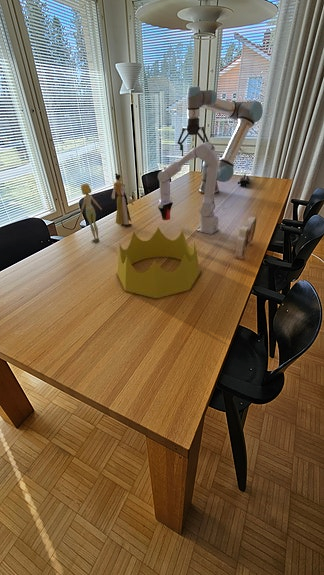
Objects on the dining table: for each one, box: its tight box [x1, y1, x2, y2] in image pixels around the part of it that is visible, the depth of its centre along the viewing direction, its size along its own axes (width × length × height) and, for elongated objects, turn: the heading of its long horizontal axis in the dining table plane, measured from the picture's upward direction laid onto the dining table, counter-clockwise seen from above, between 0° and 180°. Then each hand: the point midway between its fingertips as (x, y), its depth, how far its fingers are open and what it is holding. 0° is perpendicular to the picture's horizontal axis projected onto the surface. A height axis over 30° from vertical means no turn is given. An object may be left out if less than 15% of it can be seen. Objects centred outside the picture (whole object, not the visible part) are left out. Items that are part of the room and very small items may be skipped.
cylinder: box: [161, 209, 171, 221], centre depth 156 cm, size 5×5×5 cm
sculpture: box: [79, 183, 103, 243], centre depth 136 cm, size 13×5×30 cm, turn 134°
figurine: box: [110, 173, 134, 228], centre depth 153 cm, size 19×9×30 cm, turn 47°
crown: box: [116, 226, 201, 299], centre depth 110 cm, size 36×36×15 cm
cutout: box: [235, 216, 258, 260], centre depth 125 cm, size 15×3×25 cm
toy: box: [237, 173, 251, 188], centre depth 230 cm, size 10×5×30 cm
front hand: (166, 216), depth 156 cm, fingers closed on cylinder, 5 cm apart
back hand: (192, 155), depth 177 cm, fingers open, 13 cm apart
